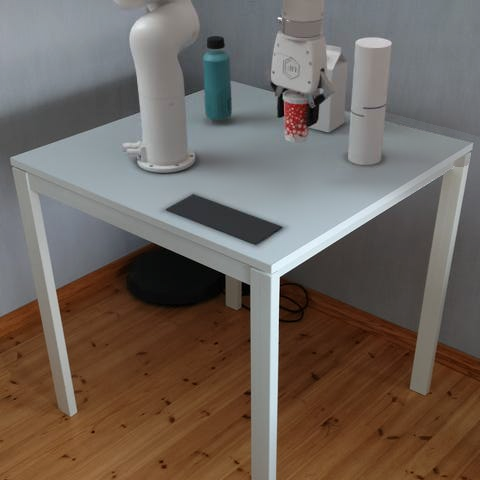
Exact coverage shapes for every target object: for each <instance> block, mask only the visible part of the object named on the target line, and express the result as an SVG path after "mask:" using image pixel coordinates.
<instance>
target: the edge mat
mask: <svg viewBox="0 0 480 480" xmlns="http://www.w3.org/2000/svg"><path fill="white" fill-rule="evenodd" d="M165 210H166V211H167V212H170V213H171V214H174V215H177V216H180V217H182V218H184V219H187V220H190V221H192V222H195V223H198V224H201V225H203V226H206V227H208V228H211V229H213V230H216V231H219V232H221V233H224V234H226V235H229V236H231V237H234V238H237V239H239V240H242V241H244V242H247V243H249V244H252V245H254V246H257V245H258V244H260V243H261V242H263V241H264V240H266V239H268V238H269V237H271V236H272V235H274V234H276V233H277V232H278V231H279V230H281V229H282V228H283V226H282V225H280V224H277V223H275V222H272V221H269V220H265V219H264V218H260V217H257V216H254V215H252V214H249V213H246V212H244V211H241V210H238V209H236V208H233V207H230V206H227V205H224V204H221V203H219V202H216V201H213V200H211V199H208V198H205V197H203V196H200V195H197V194H195V193H193V194H191V195H189V196H187V197H185V198H183V199H181V200H180V201H178V202H176V203H174V204H172V205H170V206H169V207H167V208H165Z"/></svg>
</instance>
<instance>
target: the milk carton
mask: <svg viewBox="0 0 480 480" xmlns="http://www.w3.org/2000/svg"><path fill="white" fill-rule="evenodd" d="M326 53H327V76H326V77H327V78H328V80H329V81H330V83H331V84H332V86H333V88H334V89H335V92H334V93H333V94H332V95H331V96H329V97H328V98H327V99H326V100H325V101H323V102H322V103H321V104H320V105H319V118H318V121H317V123H316V124H314V125H312V126H310V127H309V129H312V130H317V131H319V132H320V131H321V132H324V133H327V134H328V133H331V132H333V131H334V130H336V129H337V128H339V127H340V126H342V125H344V124H345V115H346V114H345V113H346V98H347V97H346V96H347V81H348V69H349V67H348V66H349V61H348V59H347V58H346V57H345V55H344V54H343V52H342V47H340V46H335V45H331V44H330V45H329V44H326ZM323 91H324V89H323V88H321V89H320V93H321V94H322V93H323ZM314 98H315V96H314Z"/></svg>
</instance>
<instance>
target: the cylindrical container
mask: <svg viewBox="0 0 480 480" xmlns="http://www.w3.org/2000/svg"><path fill="white" fill-rule="evenodd" d="M392 43H393V42H392V41H391V40H389V39H387V38H382V37H362V38H359V39H357V40H355V46H354V57H353V58H354V60H353V61H354V62H353V73H352V89H351V105H350V118H349V121H350V122H349V134H348V149H347V160H348V161H349V162H351V163H353V164H356V165H361V166H371V165H377V164H379V163H380V162H381V160H382V152H383V143H384V142H383V141H384V130H385V120H386V110H387V98H388V97H387V96H388V87H389V77H390V76H389V75H390V67H391V56H392Z"/></svg>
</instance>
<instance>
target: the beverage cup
mask: <svg viewBox="0 0 480 480" xmlns="http://www.w3.org/2000/svg"><path fill="white" fill-rule="evenodd" d="M313 95H314V93H313ZM283 100H284V117H283V118H284V120H283V121H284V140H285V141H287V142H289V143H293V144H302V143H305V142H307V141H308V139H309V132H310V128H309V127H307V126H306V125H305V123H306V108H307V107H308V106H309V102H308V98H307V94H304V93H301V92H297V91H293V90H290V89H289V90H287V91H285V92H283Z"/></svg>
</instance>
